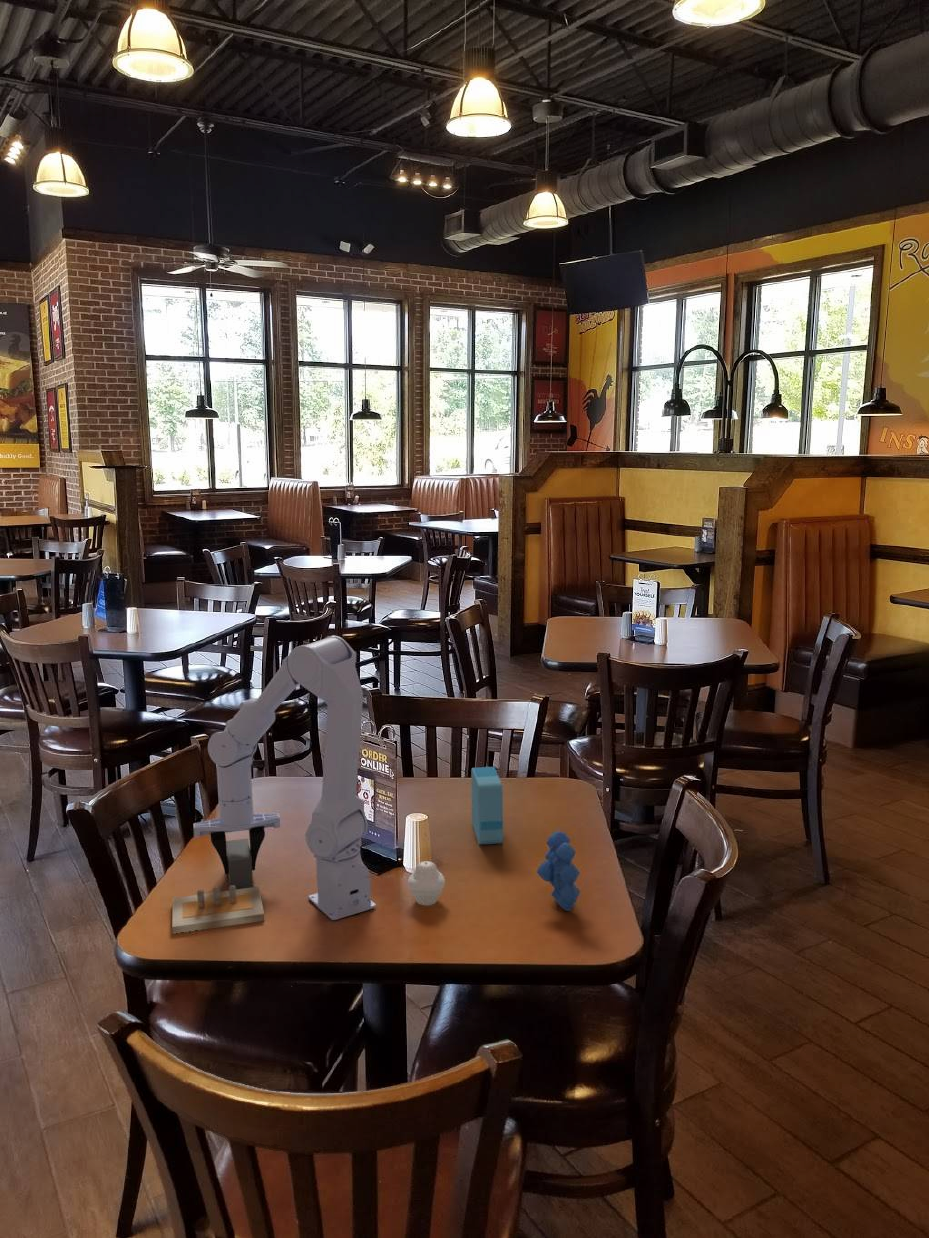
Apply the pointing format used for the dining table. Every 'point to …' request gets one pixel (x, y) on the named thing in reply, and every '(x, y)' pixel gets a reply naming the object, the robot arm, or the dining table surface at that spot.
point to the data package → (487, 805)
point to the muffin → (426, 883)
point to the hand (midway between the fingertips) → (239, 869)
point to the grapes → (560, 870)
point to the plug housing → (239, 863)
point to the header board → (217, 909)
